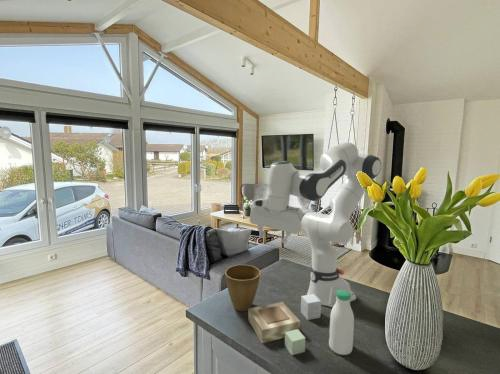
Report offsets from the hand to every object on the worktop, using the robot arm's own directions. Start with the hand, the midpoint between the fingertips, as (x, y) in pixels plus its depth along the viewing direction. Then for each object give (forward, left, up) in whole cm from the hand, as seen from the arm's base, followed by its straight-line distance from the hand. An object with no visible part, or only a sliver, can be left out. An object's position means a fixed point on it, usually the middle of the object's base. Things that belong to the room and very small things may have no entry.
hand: (272, 239), depth 103 cm
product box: (-17, +1, -34) cm, 38 cm away
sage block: (-1, +16, -34) cm, 37 cm away
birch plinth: (+1, +3, -33) cm, 34 cm away
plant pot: (+7, -14, -34) cm, 37 cm away
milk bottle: (-16, +21, -34) cm, 43 cm away
